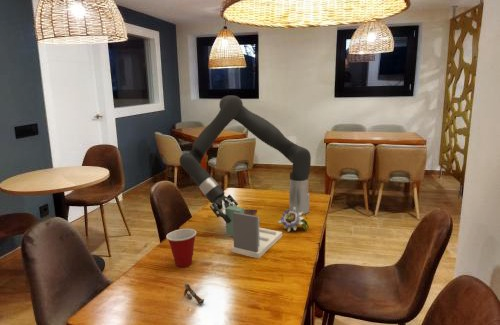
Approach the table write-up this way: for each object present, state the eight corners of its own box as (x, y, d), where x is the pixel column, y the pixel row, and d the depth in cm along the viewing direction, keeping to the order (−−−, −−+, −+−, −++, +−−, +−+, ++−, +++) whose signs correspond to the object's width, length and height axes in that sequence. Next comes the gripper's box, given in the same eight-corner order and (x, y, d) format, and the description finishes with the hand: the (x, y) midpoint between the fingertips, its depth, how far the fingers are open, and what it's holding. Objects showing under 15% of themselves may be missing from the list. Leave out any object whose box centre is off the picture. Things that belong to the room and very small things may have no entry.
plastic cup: (181, 254, 139) (180, 225, 137) (204, 260, 134) (202, 230, 131) (161, 266, 130) (159, 235, 128) (184, 274, 125) (182, 241, 122)
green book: (230, 231, 160) (230, 205, 157) (244, 234, 157) (244, 208, 154) (226, 234, 157) (225, 208, 154) (240, 237, 153) (239, 211, 151)
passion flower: (289, 242, 160) (273, 221, 159) (295, 229, 169) (280, 209, 168) (309, 233, 154) (293, 211, 153) (314, 220, 164) (299, 199, 162)
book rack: (257, 231, 159) (256, 196, 156) (282, 236, 154) (282, 200, 150) (231, 251, 141) (230, 213, 137) (258, 258, 135) (258, 218, 131)
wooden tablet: (241, 206, 188) (260, 206, 185) (242, 211, 189) (260, 210, 186) (223, 226, 164) (244, 226, 161) (224, 231, 164) (245, 230, 161)
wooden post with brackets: (184, 290, 113) (187, 280, 111) (201, 308, 109) (204, 298, 107) (180, 293, 112) (183, 283, 110) (196, 311, 108) (200, 301, 106)
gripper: (207, 189, 150) (231, 219, 147) (225, 180, 162) (248, 208, 159) (197, 199, 154) (220, 229, 151) (215, 190, 166) (238, 218, 163)
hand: (234, 218), depth 155 cm, fingers open, 8 cm apart
